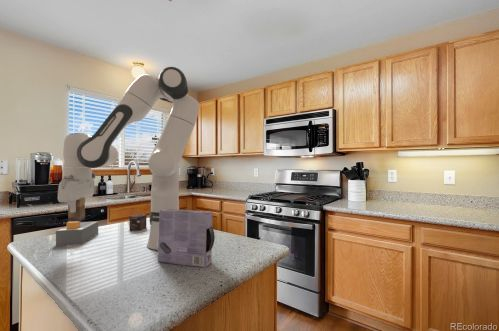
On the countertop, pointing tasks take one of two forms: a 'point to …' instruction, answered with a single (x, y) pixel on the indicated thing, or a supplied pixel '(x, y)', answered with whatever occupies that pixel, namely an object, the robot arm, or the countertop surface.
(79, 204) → the brown wooden block
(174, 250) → the cake pan box
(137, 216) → the box
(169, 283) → the countertop surface
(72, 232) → the switch box
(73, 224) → the switch tab
